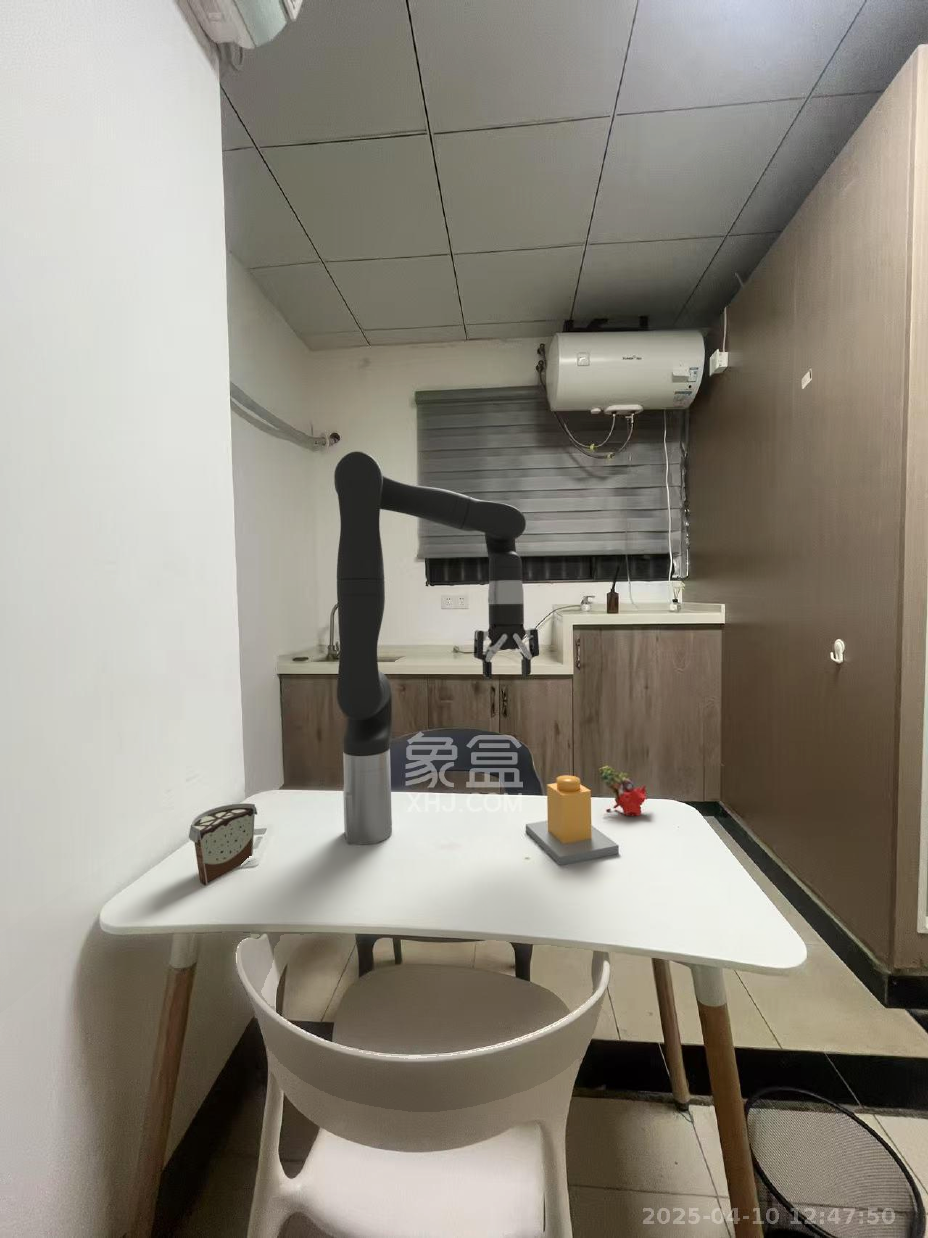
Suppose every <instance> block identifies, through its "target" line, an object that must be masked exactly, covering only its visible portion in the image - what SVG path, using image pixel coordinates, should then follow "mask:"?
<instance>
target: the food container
mask: <svg viewBox="0 0 928 1238" xmlns="http://www.w3.org/2000/svg"><path fill="white" fill-rule="evenodd" d="M255 815H256V816H257V815H258V809H257V807H256V805H255V804H254V803H245V802H244V803H243V802H242V803H232V804H227V805H221V806H217V807H213V808H211V809H208V810H207V811H204V812H202V813H201V814H198V815H197V816H196V817H194V819H193V820H192V822H191V823H190V824H191V825H190V827H189V834H188V839H189V840H190V841H191V842H193V843H194V850H195V858H196V864H197V869H198V870H197V871H198V872H197V873H198V878H199V882H200V883H201V884H202V885H203V886H205V887H207V886H210V885H211V884H213V883H215V882H217V881H219V880H220V879H221V878H224V877H225V876H227V875H229V874H230V873H232V872H234V871H236V870H238V869H239V868H241V867H242V866H241V864H242V863H243V862H244V861H245V860H246V859H247V858H249V856H252V855H253V854H254V836H255V834H254V833H255ZM253 856H254V855H253ZM240 866H241V867H240Z"/></svg>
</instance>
